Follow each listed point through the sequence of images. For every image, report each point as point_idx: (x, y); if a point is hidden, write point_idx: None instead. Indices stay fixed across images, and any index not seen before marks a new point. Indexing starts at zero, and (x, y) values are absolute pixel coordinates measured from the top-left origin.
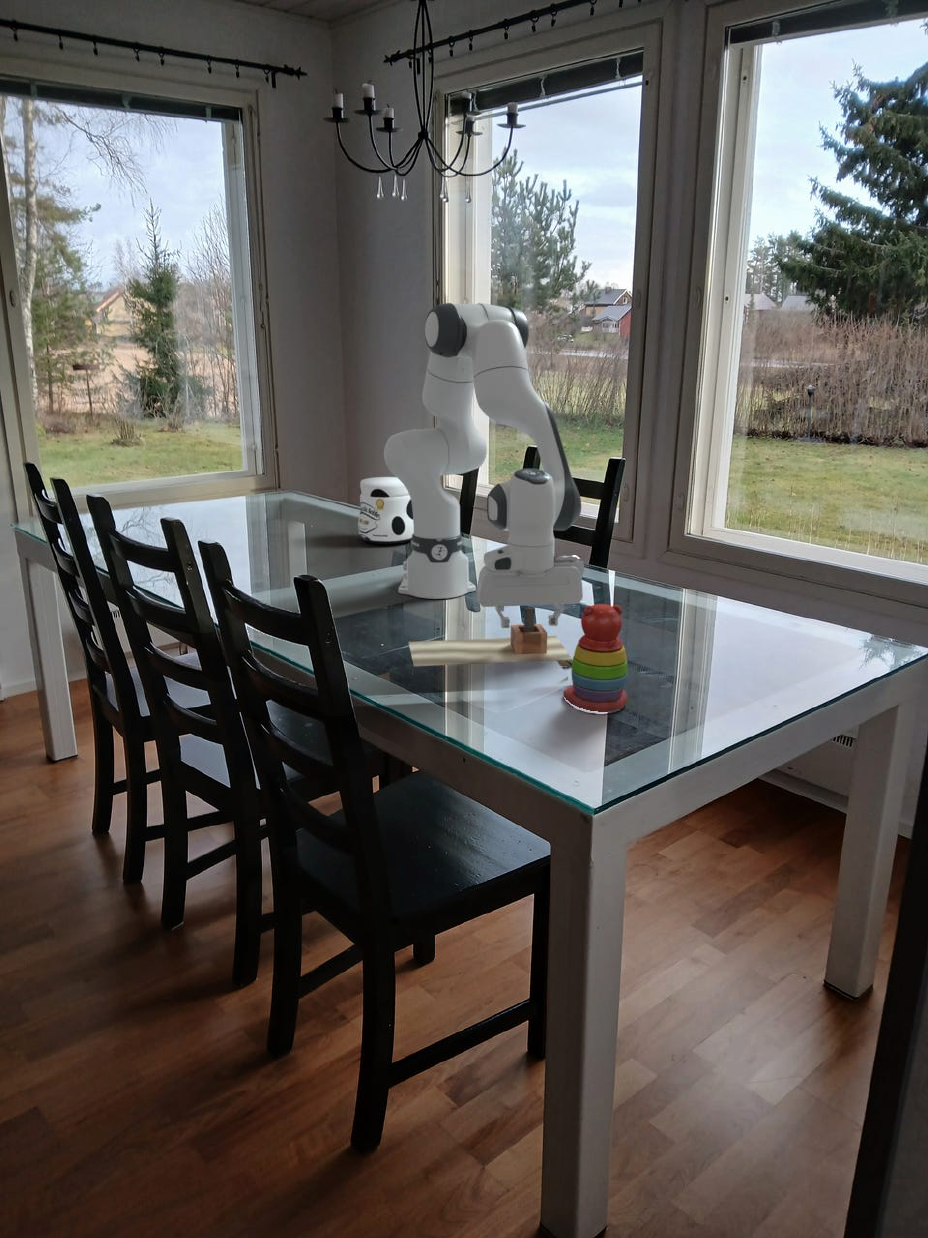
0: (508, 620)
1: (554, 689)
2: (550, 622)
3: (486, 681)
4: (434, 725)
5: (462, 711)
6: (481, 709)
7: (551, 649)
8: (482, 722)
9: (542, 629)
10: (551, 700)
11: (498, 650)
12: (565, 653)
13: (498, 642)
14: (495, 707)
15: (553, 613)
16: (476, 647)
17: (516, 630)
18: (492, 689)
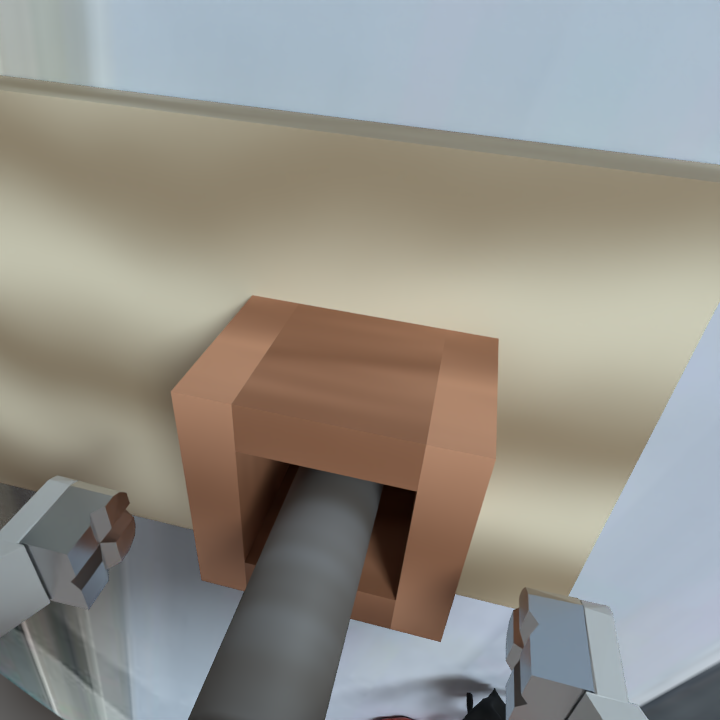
0: (83, 601)
1: (366, 681)
2: (513, 660)
3: (129, 556)
4: (22, 682)
5: (75, 665)
6: (123, 676)
7: (516, 473)
8: (129, 713)
9: (439, 573)
10: (329, 716)
11: (160, 379)
12: (570, 551)
13: (162, 229)
14: (160, 682)
15: (599, 716)
16: (14, 288)
17: (209, 521)
18: (152, 608)
